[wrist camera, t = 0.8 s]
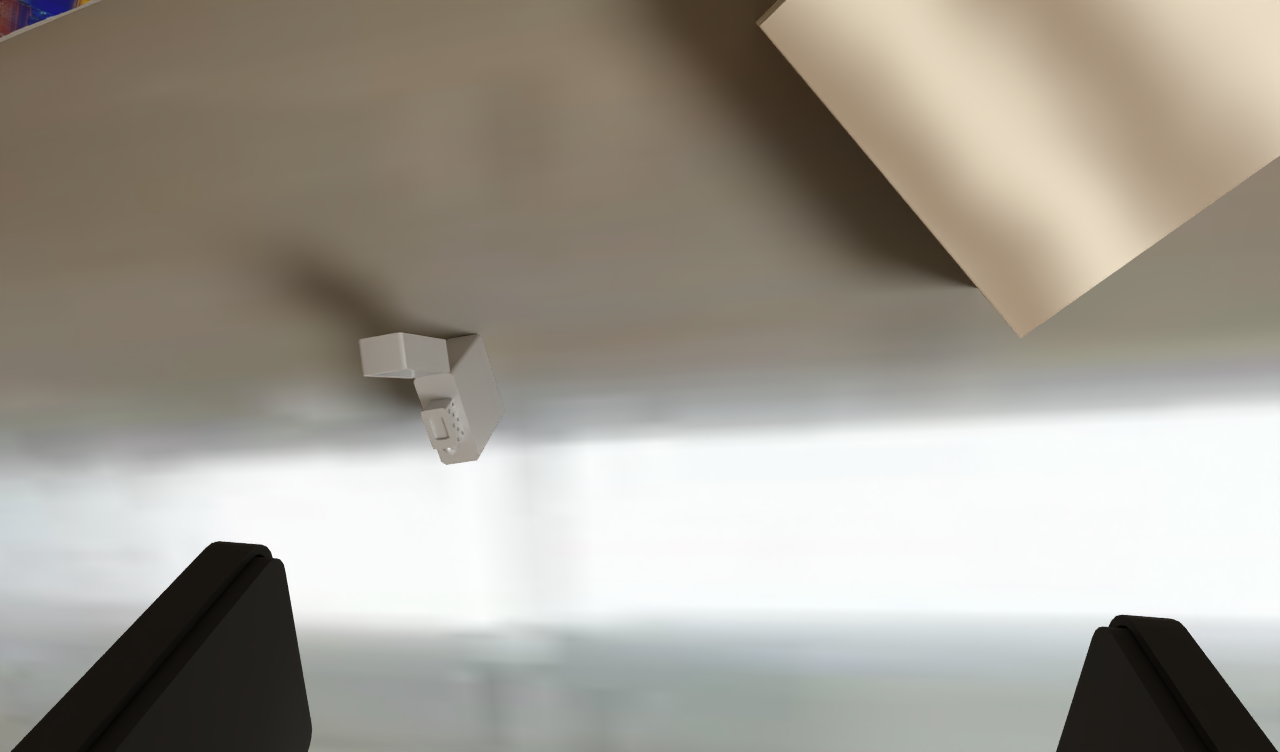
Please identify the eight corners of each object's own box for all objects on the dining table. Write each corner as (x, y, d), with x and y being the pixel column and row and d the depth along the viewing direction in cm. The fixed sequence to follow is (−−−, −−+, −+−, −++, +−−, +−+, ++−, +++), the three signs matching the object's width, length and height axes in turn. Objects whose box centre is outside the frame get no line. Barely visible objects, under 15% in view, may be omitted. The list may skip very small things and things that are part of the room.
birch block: (1089, -306, 27) (1180, -384, 21) (1310, 36, 30) (1437, 43, 25) (754, 22, 32) (759, 26, 26) (975, 286, 35) (1020, 338, 29)
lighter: (505, 414, 39) (454, 508, 32) (470, 419, 40) (412, 513, 32) (461, 270, 37) (394, 338, 29) (424, 277, 37) (349, 346, 30)
